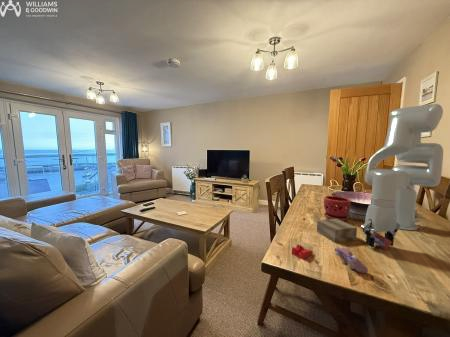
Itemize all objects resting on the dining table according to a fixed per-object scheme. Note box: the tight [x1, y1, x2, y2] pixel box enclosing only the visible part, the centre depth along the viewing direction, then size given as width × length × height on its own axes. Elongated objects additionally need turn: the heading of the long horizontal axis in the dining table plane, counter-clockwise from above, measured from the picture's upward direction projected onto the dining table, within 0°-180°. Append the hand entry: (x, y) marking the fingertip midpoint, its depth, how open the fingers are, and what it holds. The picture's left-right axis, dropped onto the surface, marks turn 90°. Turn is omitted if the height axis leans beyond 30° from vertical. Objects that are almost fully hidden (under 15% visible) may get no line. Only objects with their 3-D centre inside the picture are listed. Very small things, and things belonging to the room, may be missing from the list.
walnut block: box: [316, 218, 358, 244], centre depth 87 cm, size 11×11×6 cm
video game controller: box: [334, 245, 369, 274], centre depth 64 cm, size 10×5×7 cm, turn 5°
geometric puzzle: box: [370, 231, 392, 251], centre depth 76 cm, size 7×7×8 cm
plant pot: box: [323, 195, 352, 222], centre depth 108 cm, size 13×13×12 cm
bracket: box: [291, 244, 314, 261], centre depth 72 cm, size 6×5×3 cm
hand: (379, 244), depth 76 cm, fingers closed on geometric puzzle, 8 cm apart
